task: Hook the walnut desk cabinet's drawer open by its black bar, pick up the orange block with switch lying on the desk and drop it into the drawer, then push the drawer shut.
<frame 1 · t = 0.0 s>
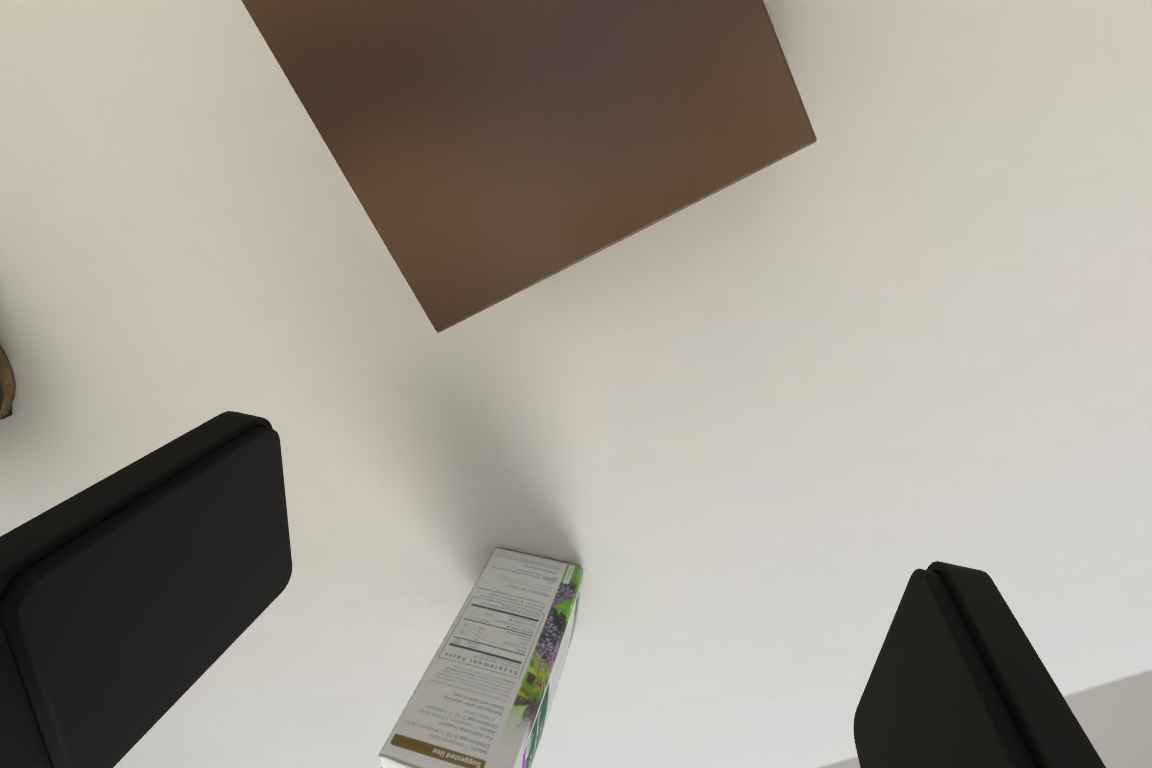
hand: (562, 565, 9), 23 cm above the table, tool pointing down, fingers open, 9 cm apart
cabinet: (567, 62, 27), on the table
syrup box: (535, 587, 39), on the table
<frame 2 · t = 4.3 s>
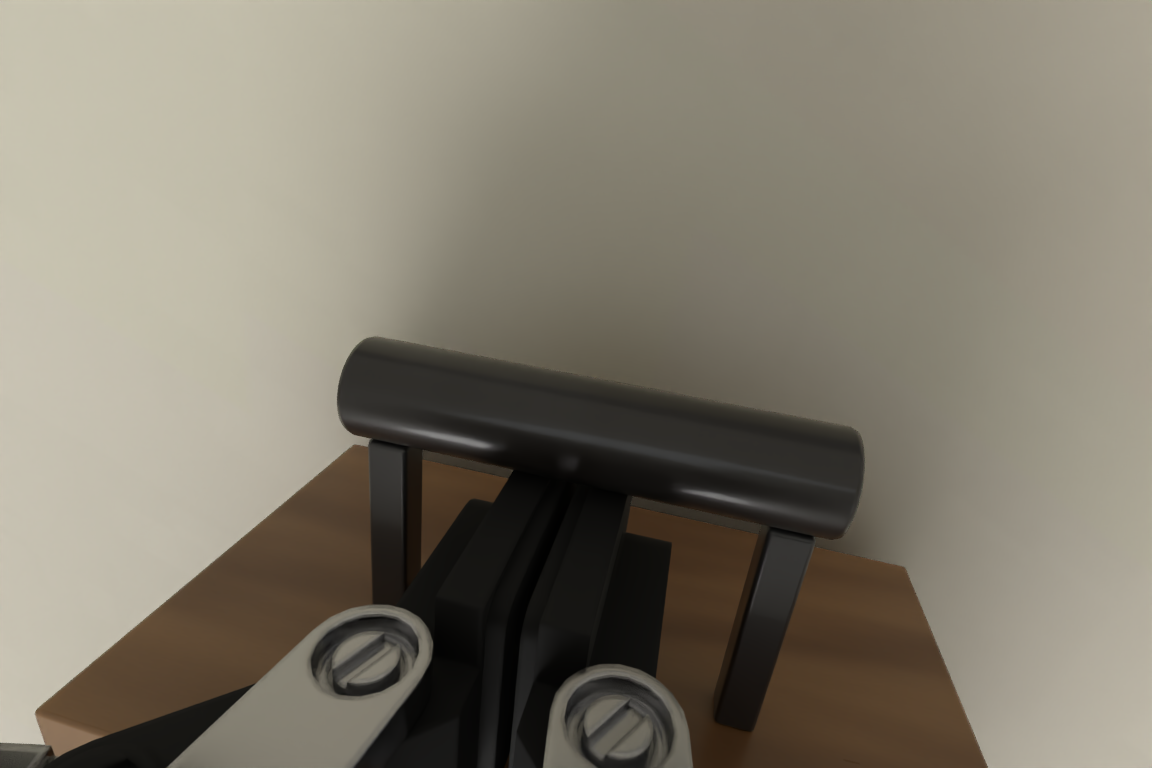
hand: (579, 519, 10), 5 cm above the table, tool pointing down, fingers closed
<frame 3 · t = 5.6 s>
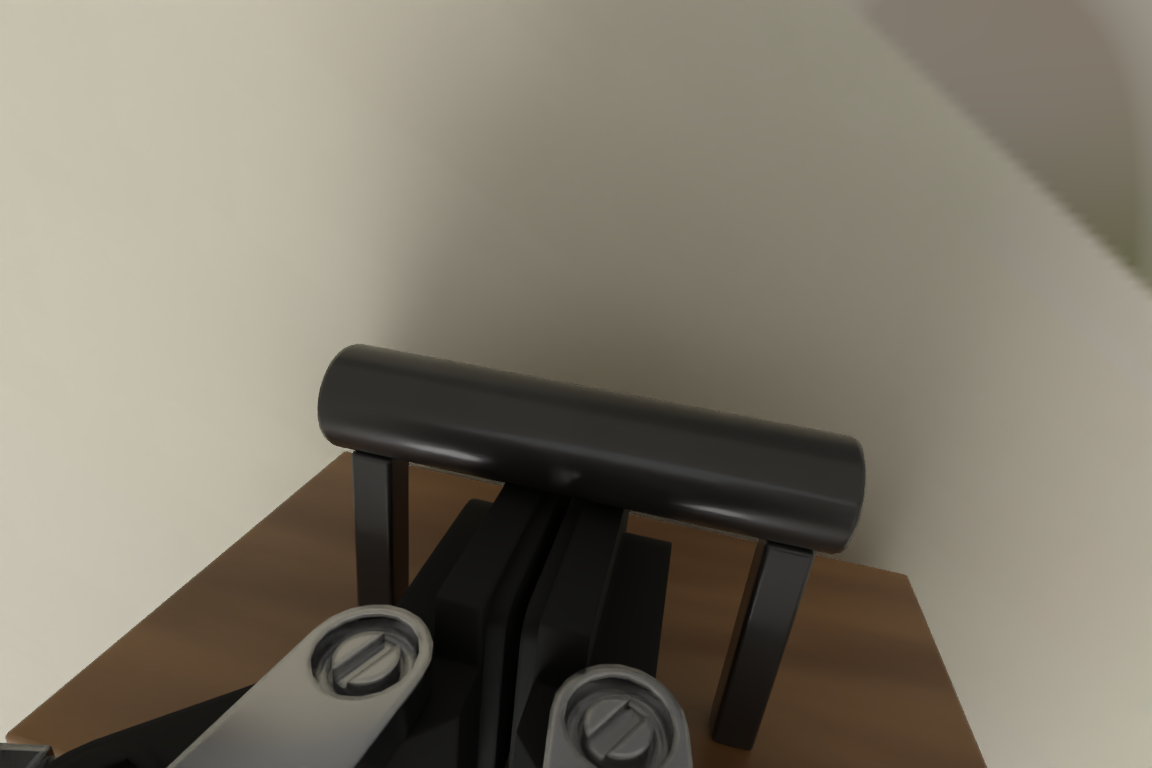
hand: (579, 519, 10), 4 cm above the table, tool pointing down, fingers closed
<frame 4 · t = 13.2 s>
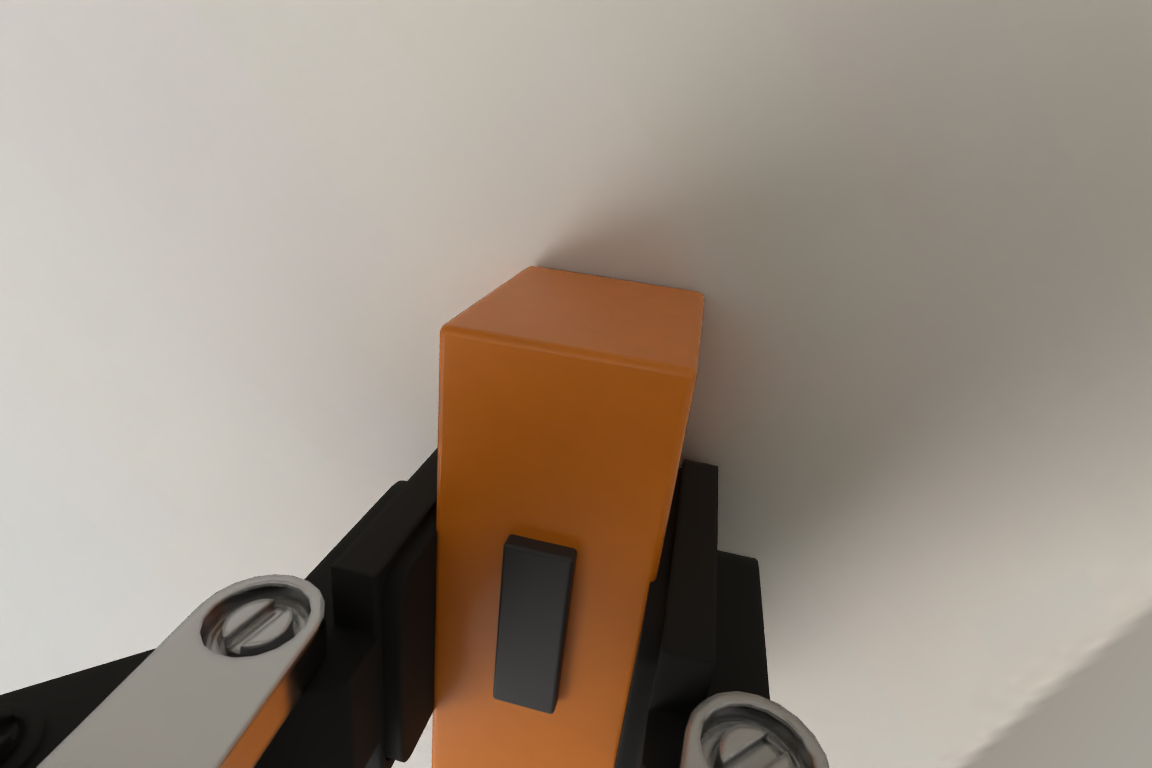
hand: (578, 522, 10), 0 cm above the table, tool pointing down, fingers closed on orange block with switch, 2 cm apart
orange block with switch: (584, 509, 10), on the table, touching gripper
when the fingers open (9 cm above the table, at t = 29.7 s): orange block with switch drops 6 cm, resting on drawer.
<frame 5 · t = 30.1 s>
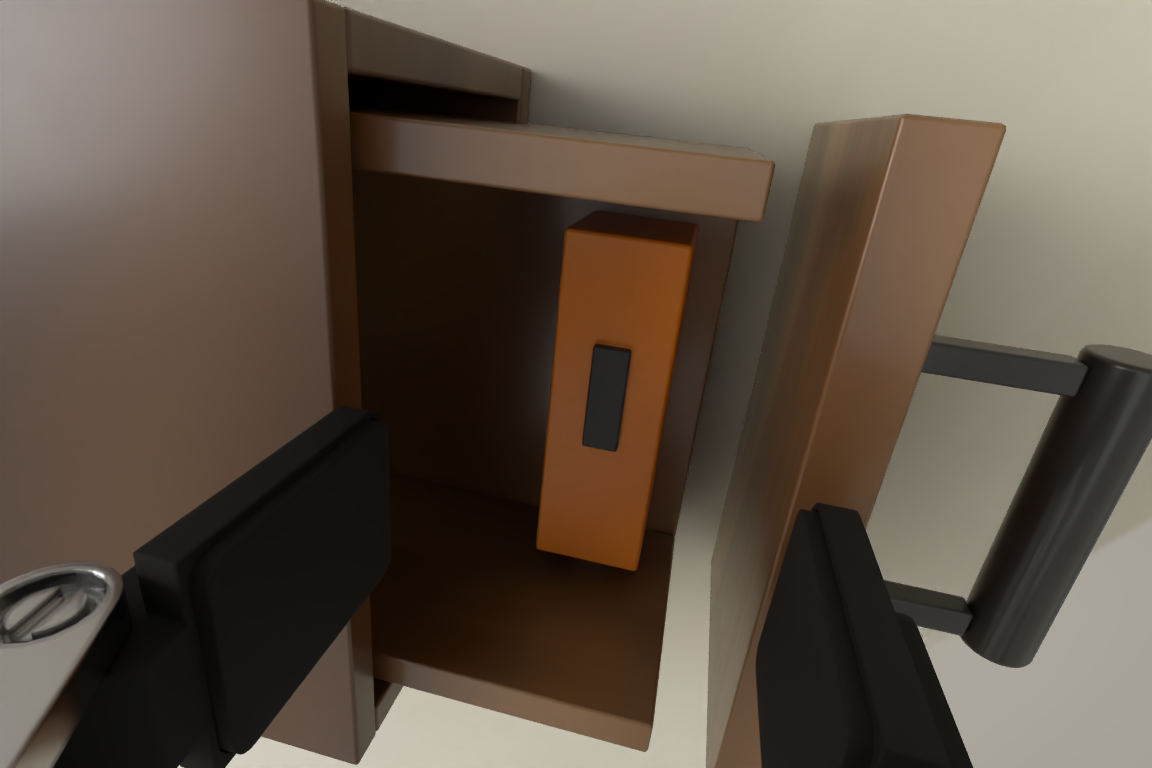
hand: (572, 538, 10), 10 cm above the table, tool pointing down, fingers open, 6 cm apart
drawer: (623, 412, 14), point 5 cm above the table, slide at 7.2 cm, touching orange block with switch
cabinet: (302, 288, 20), on the table
orange block with switch: (624, 368, 17), point 2 cm above the table, touching drawer
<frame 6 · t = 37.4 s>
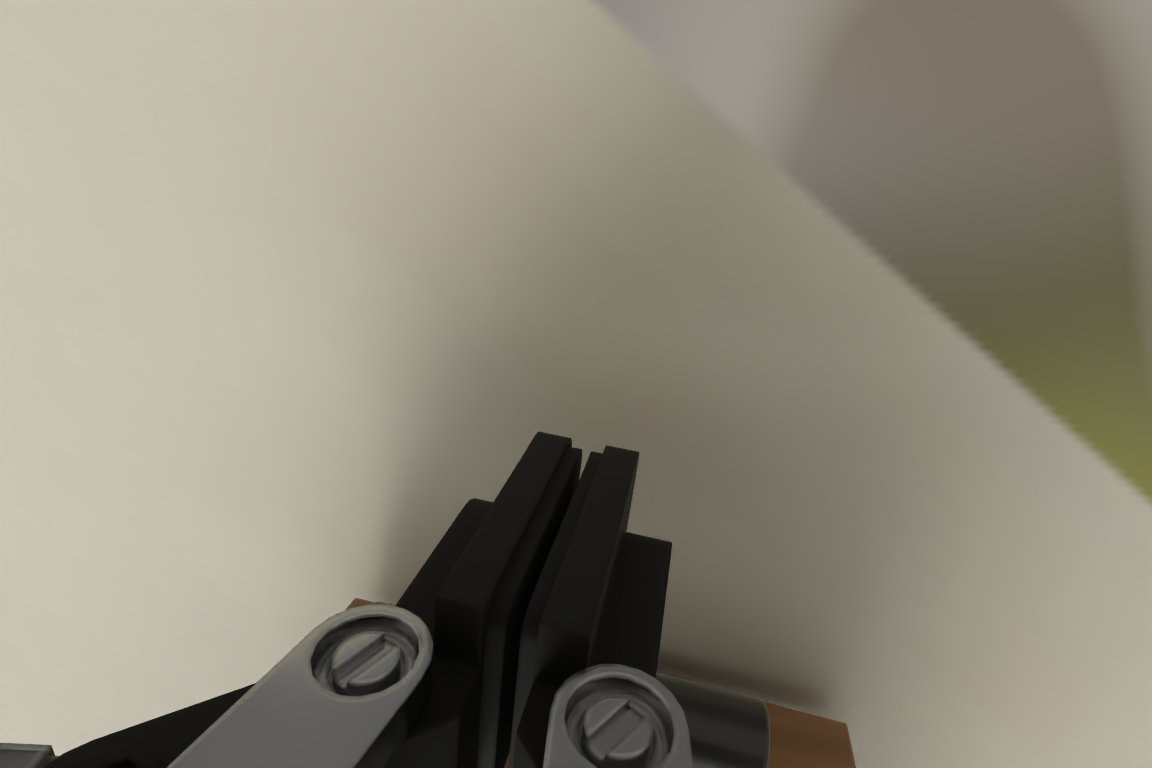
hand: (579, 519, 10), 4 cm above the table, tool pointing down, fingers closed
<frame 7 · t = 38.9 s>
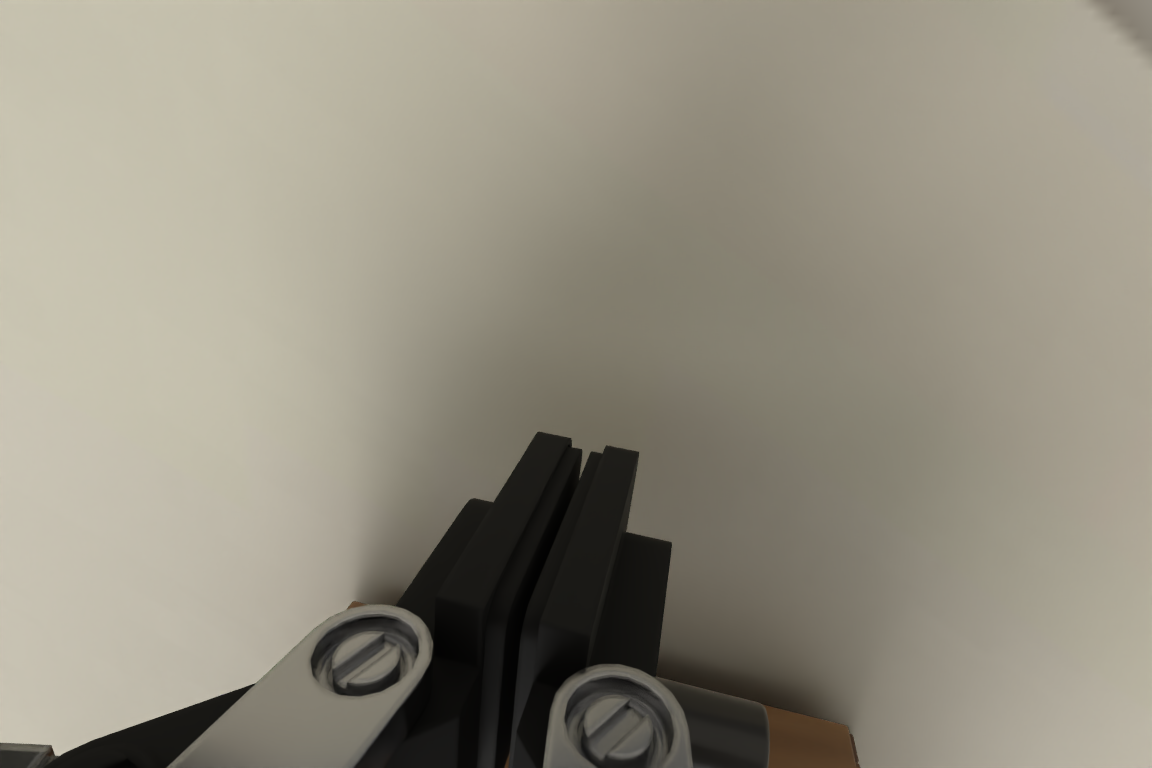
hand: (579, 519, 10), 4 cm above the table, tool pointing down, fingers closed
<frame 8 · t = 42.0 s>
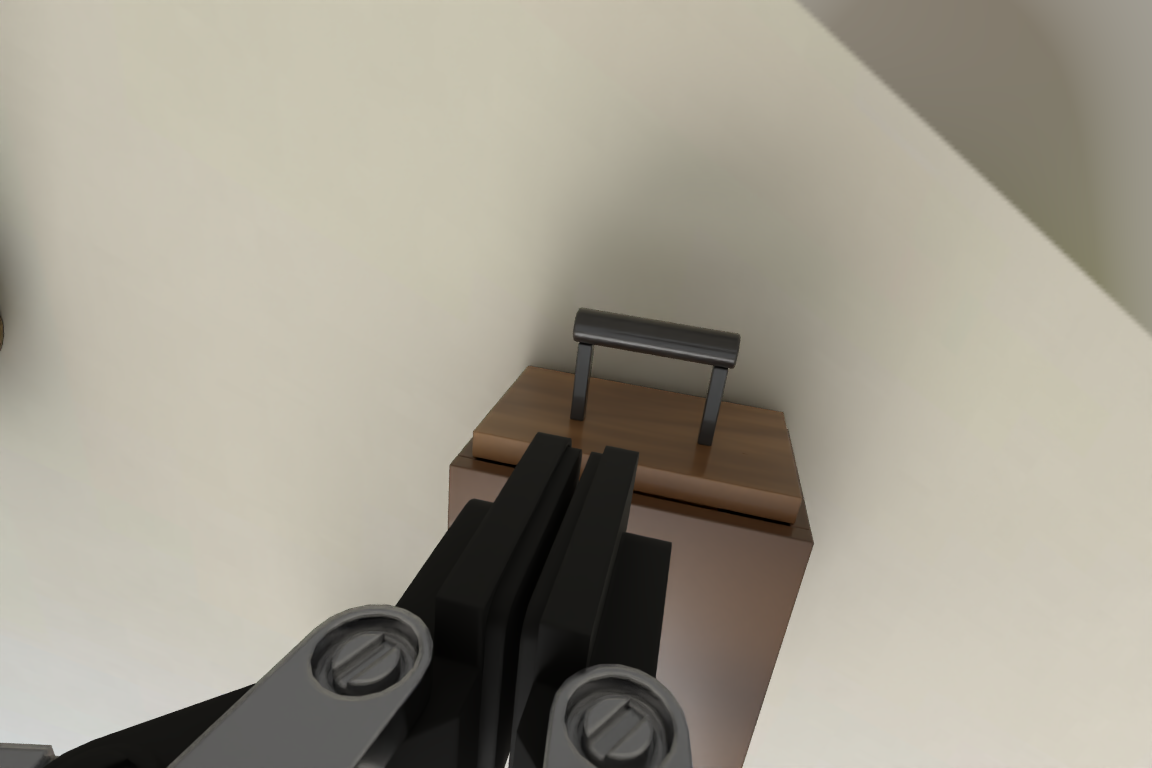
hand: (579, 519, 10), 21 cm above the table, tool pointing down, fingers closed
drawer: (629, 501, 29), point 5 cm above the table, slide at 0.0 cm, touching orange block with switch
cabinet: (630, 517, 35), on the table
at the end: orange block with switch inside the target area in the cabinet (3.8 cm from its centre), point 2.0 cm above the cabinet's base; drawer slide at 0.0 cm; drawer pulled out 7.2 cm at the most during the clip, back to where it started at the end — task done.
